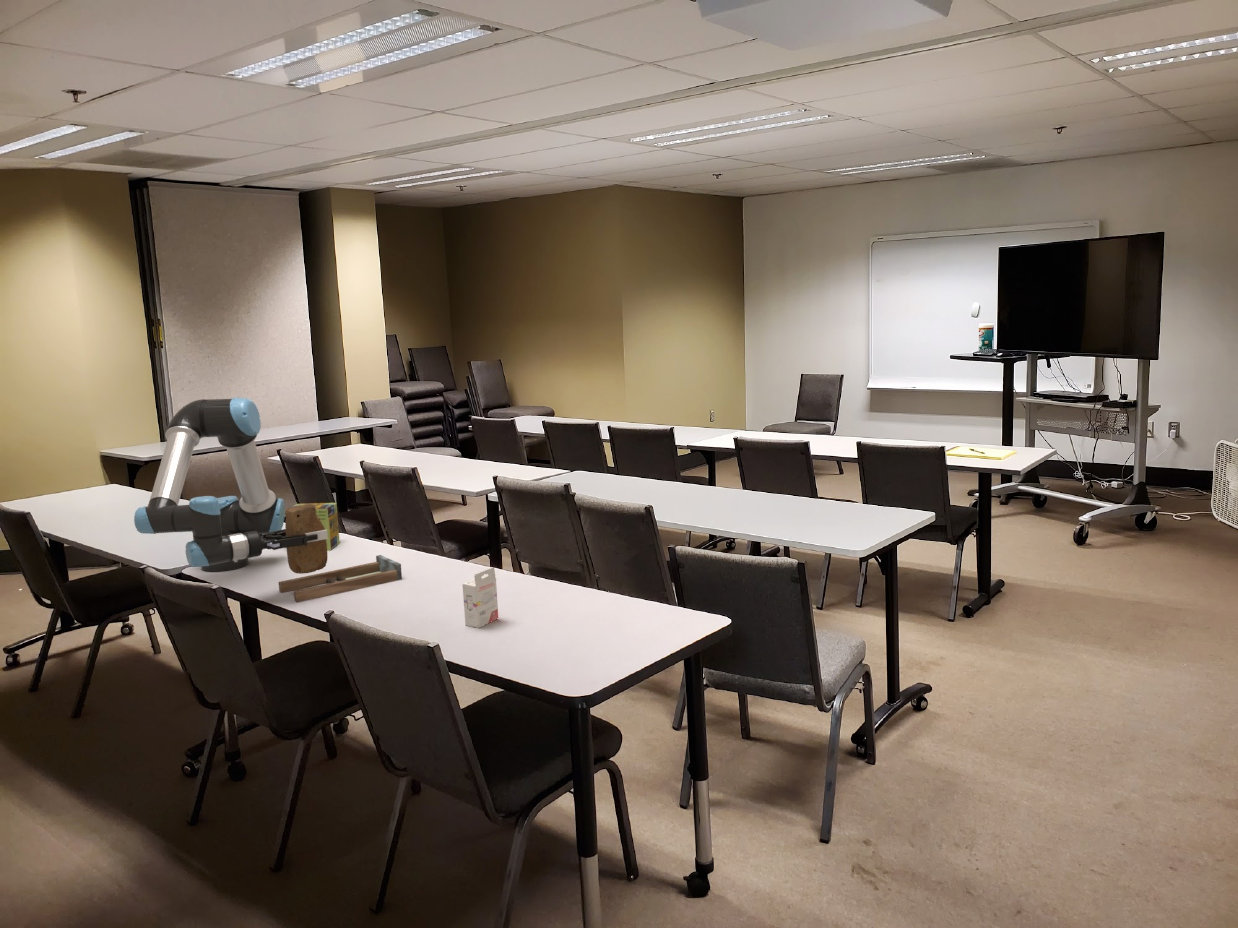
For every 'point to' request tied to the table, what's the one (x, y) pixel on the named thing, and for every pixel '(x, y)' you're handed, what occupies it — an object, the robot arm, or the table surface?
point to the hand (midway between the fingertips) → (321, 531)
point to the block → (302, 556)
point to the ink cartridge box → (480, 599)
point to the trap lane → (343, 579)
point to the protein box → (328, 522)
